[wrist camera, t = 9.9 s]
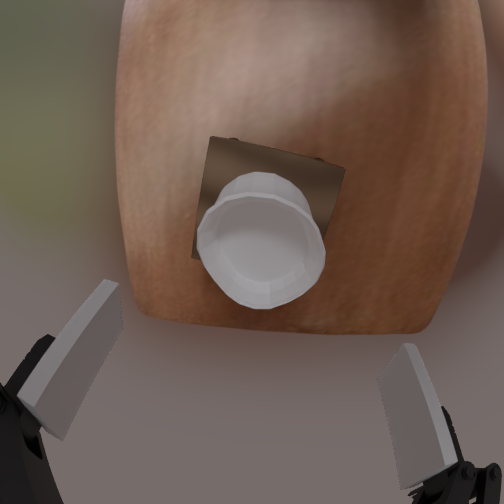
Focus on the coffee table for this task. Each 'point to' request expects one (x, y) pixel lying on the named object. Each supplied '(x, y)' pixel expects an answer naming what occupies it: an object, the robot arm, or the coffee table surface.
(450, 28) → the coffee table surface
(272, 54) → the coffee table surface
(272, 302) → the cup
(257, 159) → the footstool
